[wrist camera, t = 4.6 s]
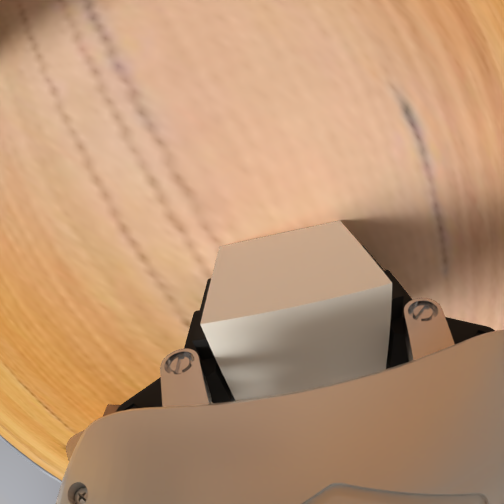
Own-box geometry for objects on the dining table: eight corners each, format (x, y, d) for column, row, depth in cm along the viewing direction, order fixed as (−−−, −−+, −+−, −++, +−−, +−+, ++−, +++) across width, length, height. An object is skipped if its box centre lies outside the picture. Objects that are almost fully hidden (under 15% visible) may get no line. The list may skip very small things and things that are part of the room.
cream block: (339, 220, 11) (392, 282, 7) (348, 317, 13) (381, 396, 9) (219, 246, 12) (200, 323, 7) (248, 338, 14) (247, 423, 9)
